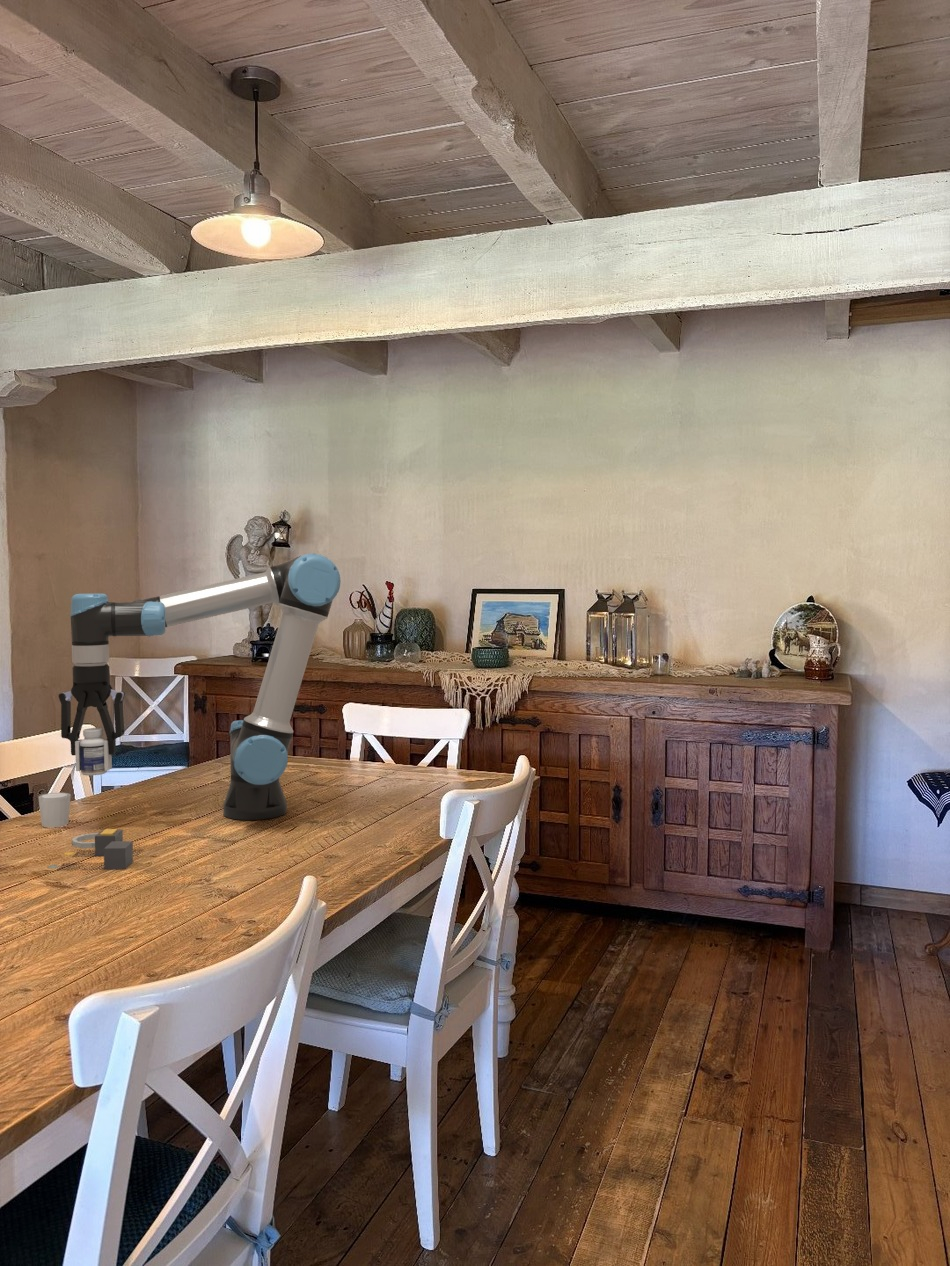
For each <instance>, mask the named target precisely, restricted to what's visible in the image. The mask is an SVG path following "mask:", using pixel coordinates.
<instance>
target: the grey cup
mask: <svg viewBox="0 0 950 1266" xmlns="http://www.w3.org/2000/svg"><path fill="white" fill-rule="evenodd" d="M71 796H72V795H71V793H68V792H51V793H49V792H48V793H43V794H41V795H38V796H37V797H38V805H39V814H40V823H41V827H42V826H44V827H60V828H62V827H61V826H65V825H67V824H68V825H69V821H70V809H71ZM68 825H67V826H68ZM65 827H66V826H65Z"/></svg>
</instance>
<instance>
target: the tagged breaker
mask: <svg viewBox="0 0 950 1266" xmlns="http://www.w3.org/2000/svg"><path fill="white" fill-rule="evenodd" d="M97 833H98V834H97V835H96V836H95V839H94V842H95V848H94V853H95V854H94V855H95V856H96V857H97V856H104V848H105V847H106V846H107V845H108V844H110V843H111V842H112V841H124V838H123V837H124V836H123V829H117V828H105V829H102V830H100V831H99V832H97Z"/></svg>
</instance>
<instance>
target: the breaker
mask: <svg viewBox="0 0 950 1266" xmlns="http://www.w3.org/2000/svg"><path fill="white" fill-rule="evenodd" d="M133 842H134V841H133V840H132V841H130V840H129V841H128V840H123V841H112V842H111V843H110V844H108V845H107V846H106V847H105V848H104V857H103V863H104V866H103V867H104V869H106V870H109V869H113V870H115V869H119V870H120V869H121V870H127V868H129V866H130V865H131V864H132V863H133V862H134V856H133V852H134V851H133V850H134V847H133V846H134V843H133Z"/></svg>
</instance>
